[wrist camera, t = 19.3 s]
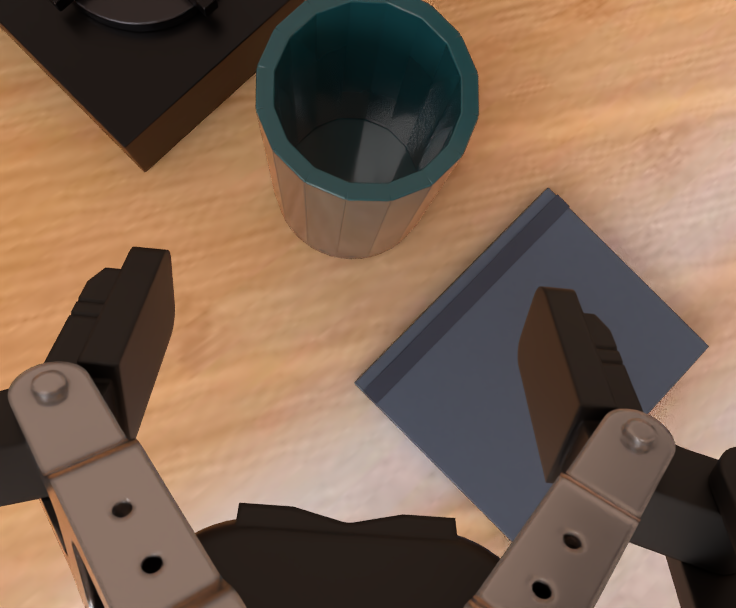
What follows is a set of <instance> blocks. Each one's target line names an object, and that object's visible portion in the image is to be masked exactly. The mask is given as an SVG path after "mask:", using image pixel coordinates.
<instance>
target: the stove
mask: <svg viewBox="0 0 736 608" xmlns="http://www.w3.org/2000/svg"><path fill="white" fill-rule="evenodd" d="M304 1H305V0H0V27H1V28H2V29H3V30H4V31H5V32H6V33H7V34H8V35H9V36H10V37H11V38H12V39H13V40H14V41H15V42H16V43H17V44H18V45H19V47H20V48H21V49H22V50H23V51H24V52H25V53H26V54H27V55H28V56H29V57H30V58H31V59H32V60H33V61H34V62H35V63H36V64H37V65H38V66H39V67H40V68H41V69H42V70H43V71H44V72H45V73H46V74H47V75H48V76H49V77H50V78H51V79H52V80H53V81H54V82H55V83H56V84H57V85H58V86H59V87H60V88H61V89H62V90H63V91H64V92H65V93H66V94H67V95H68V96H69V97H70V98H71V99H72V100H73V101H74V102H75V103H76V104H77V105H78V106H79V107H80V108H81V109H82V110H83V111H84V112H85V113H86V114H87V115H88V116H89V117H90V118H91V119H92V120H93V121H94V122H95V123H96V124H97V125H98V126H99V127H100V128H101V129H102V130H103V131H104V132H105V133H106V134H107V135H108V136H109V137H110V138H111V139H112V140H113V141H114V142H115V143H116V144H117V145H118V146H119V147H120V148H121V149H122V150H123V151H124V152H125V153H126V154H127V155H128V156H129V157H130V158H131V159H132V160H133V161H134V162H135V163H136V164H137V165H138V166H139V167H140V168H141V169H142V170H143V171H144V172H146V171H147V170H148V169H149V168H150V167H151V166H153V165H154V164H155V163H156V162H157V161H158V160H159V159H160V158H161V157H162V156H164V155H165V154H166V153H167V152H168V151H169V150H170V149H171V148H172V147H174V146H175V145H176V144H177V143H178V142H179V141H180V140H181V139H182V138H183V137H185V136H186V135H187V134H188V133H189V132H190V131H191V130H192V129H193V128H194V127H196V126H197V125H198V124H199V123H200V122H201V121H202V120H203V119H204V118H206V117H207V116H208V115H209V114H210V113H211V112H212V111H213V110H214V109H215V108H217V107H218V106H219V105H220V104H221V103H222V102H223V101H224V100H225V99H226V98H228V97H229V96H230V95H231V94H232V93H233V92H234V91H235V90H236V89H238V88H239V87H240V86H241V85H242V84H243V83H244V82H245V81H246V80H247V79H249V78H250V77H251V76H252V75H253V74H254V73H255V72H256V69H257V64H258V62H259V60H260V58H261V56H262V54H263V51H264V49H265V47H266V45H267V43H268V40H269V38H270V36H271V34H272V32H273V30H274V29H275V27H276V26H277V25H278V24H279V23H280V22H282V21H283V20H284V19H285V18H286V17H287V16H288V15H289V14H291V13H292V12H293V11H294V10H295V9H296V8H297V7H298V6H299V5H301V4H302V3H303V2H304Z"/></svg>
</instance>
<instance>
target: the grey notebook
mask: <svg viewBox="0 0 736 608" xmlns="http://www.w3.org/2000/svg"><path fill="white" fill-rule="evenodd" d="M569 207H570V206H569V205H568V204H567V203H566V202H565V201H564V200H563V199H562V198H561V197H560V196H559V195H555V194H554V193H553V192H552V191H551V190H550V189H549V188H547V189H546V190H545V191H543V192H542V193H541V195H540V196H539V197H538V198H537V199H536V200H535V201H534V202H533V203H532V204H531V205H530V206H529V207H528V208H527V209H526V210H525V211H524V212H523V213H522V214H521V215H520V216H519V217H518V218H517V219H516V220H515V221H514V222H513V223H512V224H511V225H510V226H509V227H508V228H507V229H506V230H505V231H504V232H503V233H502V234H501V235H500V236H499V237H498V238H497V239H496V240H495V241H494V242H493V243H492V244H491V245H490V246H489V247H488V248H487V249H486V250H485V251H484V252H483V253H482V254H481V255H480V256H479V257H478V258H477V259H476V260H475V261H474V262H473V263H472V264H471V265H470V266H469V267H468V268H467V269H466V270H465V271H464V272H463V273H462V274H461V275H460V276H459V277H458V278H457V279H456V280H455V281H454V282H453V283H452V284H451V285H450V286H449V287H448V288H447V289H446V290H445V291H444V292H443V293H442V294H441V295H440V296H439V297H438V298H437V299H436V300H435V301H434V302H433V303H432V304H431V305H430V307H429V308H428V309H427V310H426V311H425V312H424V313H423V314H422V315H421V316H420V317H419V318H418V319H417V320H416V321H415V322H414V323H413V324H412V325H411V326H410V327H409V328H408V329H407V330H406V331H405V332H404V333H403V334H402V335H401V336H400V337H399V338H398V339H397V340H396V341H395V342H394V343H393V344H392V345H391V346H390V347H389V348H388V349H387V350H386V351H385V352H384V353H383V354H382V355H381V356H380V357H379V358H378V359H377V360H376V361H375V362H374V363H373V364H372V365H371V366H370V367H369V368H368V369H367V370H366V371H365V372H364V373H363V374H362V375H361V376H360V377H359V378H358V379H357V380H356V381H355V385H356V386H357V387H358V388H359V389H360V390H361V391H362V392H363V393H364V394H365V395H366V396H367V397H368V398H369V399H370V400H371V401H372V402H373V403H374V404H375V405H376V406H377V407H378V408H379V409H380V410H381V411H382V412H383V413H384V414H385V415H386V416H387V417H388V418H389V419H390V420H391V421H392V422H393V423H394V424H395V425H396V426H397V427H398V428H399V429H400V430H401V431H402V432H403V433H404V434H405V435H406V436H407V437H408V438H409V439H410V440H411V441H412V442H413V443H414V444H415V445H416V446H417V447H418V448H419V449H420V450H421V451H422V452H423V453H424V454H425V455H426V456H427V457H428V458H429V459H430V460H431V461H432V462H433V463H434V464H435V465H436V466H437V467H438V468H439V469H440V470H441V471H442V472H443V473H444V474H445V475H446V476H447V477H448V478H449V479H450V480H451V481H452V482H453V483H454V484H455V485H456V486H457V487H458V488H459V489H460V490H461V491H462V492H463V493H464V494H465V495H466V496H467V497H468V498H469V499H470V500H471V501H472V502H473V503H474V504H475V505H476V506H477V507H478V508H479V509H480V510H481V511H482V512H483V513H484V514H485V515H486V516H487V517H488V518H489V519H490V520H491V521H492V522H493V523H494V525H495V526H496V527H497V528H498V529H499V530H500V531H501V532H502V533H503V534H504V535H505V536H506V537H507V538H508V539H509V540H510V541H511V542H513V540H514V539H515V537H516V536H517V534H518V533H519V532H520V530H521V529H522V527H523V526H524V524H525V523H526V522H527V520H528V519H529V517H530V516H531V514H532V513H533V512H534V510H535V509H536V507H537V506H538V504H539V503H540V502H541V500H542V499H543V497H544V496H545V494H546V493H547V492H548V490H549V489H550V487H551V486H552V484H553V483H546V481H545V477H544V473H543V468H542V464H541V460H540V456H539V451H538V447H537V443H536V439H535V434H534V430H533V426H532V421H531V417H530V413H529V409H528V404H527V400H526V396H525V392H524V387H523V383H522V379H521V374H520V370H519V366H518V345H519V340H520V336H521V333H522V330H523V327H524V324H525V321H526V318H527V315H528V312H529V309H530V306H531V303H532V300H533V297H534V294H535V292H536V290H537V288H538V287H540V286H544V287H554V288H565V289H573V290H574V291H575V292H576V294H577V297H578V299H579V302H580V305H581V308H582V310H583V313H590V314H595V315H596V316H597V317H598V318H599V319H600V320H601V321H602V322H603V323H604V324H605V325H606V326H607V327H608V328H609V329H610V331H611V333H612V336H613V338H614V340H615V343H616V345H617V351H619V353H620V355H621V358H622V360H623V365H625V368H626V370H627V373H628V375H629V377H630V380H631V382H632V385H633V387H634V390H635V392H636V395H637V397H638V400H639V402H640V405H641V407H642V410H643V412H644V413H646V414H648V413H649V412H650V411H651V410H652V409H653V408H654V407H655V405H656V404H657V403H658V402H659V401H660V400H661V399H662V398H663V397H664V396H665V394H666V393H667V392H668V391H669V390H670V389H671V388H672V387H673V386H674V385H675V383H676V382H677V381H678V380H679V379H680V378H681V377H682V376H683V375H684V374H685V372H686V371H687V370H688V369H689V368H690V367H691V366H692V365H693V364H694V363H695V361H696V360H697V359H698V358H699V357H700V356H701V355H702V354H703V353H704V352H705V350H706V349H707V348H708V347H709V346H708V345H707V344H706V343H705V342H704V341H703V340H702V339H701V338H700V337H699V336H698V335H697V334H696V333H695V332H694V331H693V330H692V329H691V328H690V327H689V326H688V325H687V324H686V323H685V322H684V321H683V320H682V319H681V318H680V317H679V316H678V315H677V314H676V313H675V312H674V311H673V310H672V309H671V308H670V307H669V306H668V305H667V304H666V303H665V302H664V301H663V300H662V299H661V298H660V297H659V296H658V295H657V294H655V293H654V292H653V291H652V290H651V289H650V288H649V287H648V286H647V285H646V284H645V283H644V282H643V281H642V280H641V279H640V278H639V277H638V276H637V275H636V274H635V273H634V272H633V271H632V270H631V269H630V268H629V267H628V266H627V265H626V264H625V263H624V262H623V261H622V260H621V259H620V258H619V257H618V256H617V255H616V254H615V253H614V252H613V251H612V250H611V249H610V248H609V247H608V246H607V245H606V244H605V243H604V242H603V241H602V240H601V239H600V238H599V237H598V236H597V235H596V234H595V233H594V232H593V231H592V230H591V229H590V228H589V227H588V226H587V225H586V224H585V223H584V222H583V221H582V220H581V219H580V218H579V217H578V216H577V215H576V214H575V213H574V212H573V211H572V210H571V209H570V208H569Z"/></svg>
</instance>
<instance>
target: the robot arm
mask: <svg viewBox="0 0 736 608" xmlns="http://www.w3.org/2000/svg"><path fill="white" fill-rule="evenodd" d="M174 317H175V302H174V289H173V277H172V264H171V255H170V252H169V250H163V249H153V248H142V247H132V248H131V249H130V251H129V253H128V255H127V257H126V260H125V262H124V264H123V266H122V268H121V269H115V268H104V269H103V270H102V271H100V272H99V273H98V274H96V275H95V276H94V277H92V278H91V279H90V280H89V281H87V283H86V285H85V287H84V289H83V291H82V292H81V294H80V296H79V298H78V302H76V304H75V306H74V307H73V309H72V311H71V315H69V317H68V319H67V321H66V322H65V324H64V326H63V328H62V330H61V332H60V334H59V336H58V337H57V339H56V341H55V343H54V345H53V347H52V349H51V351H50V352H49V354H48V356H47V358H46V360H45V362H44V363H43V364H39V365H36V366H34V367H31V368H29V369H28V370H26V371H24V372H23V373H21V374H20V375H19V376H18V377H17V378H16V379H15V380H14V381H13V382H12V384H11V386H10V388H9V389H6V390H2V391H0V506H5V505H10V504H15V503H20V502H25V501H30V500H35V499H39V500H40V503H41V505H42V507H43V509H44V512H45V514H46V516H47V518H48V521H49V523H50V525H51V527H52V529H53V532H54V534H55V536H56V538H57V541H58V543H59V545H60V547H61V549H62V552H63V554H64V556H65V558H66V561H67V563H68V565H69V567H70V570H71V572H72V575H73V577H74V580H75V583H76V585H77V588H78V591H79V594H80V596H81V599H82V601H83V604H84V606H85V608H594V606H595V605H596V603H597V601H598V599H599V597H600V595H601V593H602V591H603V590H604V588H605V586H606V584H607V582H608V580H609V578H610V576H611V575H612V573H613V571H614V569H615V567H616V565H617V563H618V561H619V560H620V558H621V556H622V554H623V552H624V550H625V548H626V547H627V545H628V543H629V542H630V543H633V544H635V545H638V546H641V547H643V548H646V549H649V550H652V551H654V552H657V553H660V554H663V555H665V556H666V559H667V562H668V566H669V569H670V572H671V576H672V579H673V582H674V586H675V589H676V592H677V596H678V599H679V603H680V606H681V608H736V447H733V448H729V449H728V450H726V451H725V452H724V453H723V454H722V456H721V457H720V459H719V460H717V459H714V458H711V457H708V456H705V455H702V454H699V453H696V452H693V451H690V450H687V449H685V448H682V447H679V446H677V445H675V442H674V439H673V437H672V435H671V433H670V432H669V431H668V429H667V428H666V427H665V426H664V425H663V424H662V423H661V422H659V421H658V420H657V419H655V418H654V417H652V416H650V415H648V414H646V413H644V412H643V410H642V407H641V405H640V402H639V400H638V397H637V395H636V392H635V390H634V387H633V385H632V382H631V380H630V377H629V375H628V373H627V370H626V368H625V365H623V360H622V358H621V355H620V353H619V351H617V345H616V343H615V340H614V338H613V336H612V333H611V331H610V329H609V328H608V327H607V326H606V325H605V324H604V323H603V322H602V321H601V320H600V319H599V318H598V317H597V316H596V315H595V314H590V313H583V310H582V308H581V305H580V302H579V299H578V297H577V294H576V292H575V291H574V290H573V289H565V288H554V287H544V286H540V287H538V288H537V290H536V292H535V294H534V297H533V300H532V303H531V306H530V309H529V312H528V315H527V318H526V321H525V324H524V327H523V330H522V333H521V336H520V340H519V345H518V366H519V370H520V374H521V379H522V383H523V387H524V392H525V396H526V400H527V404H528V409H529V413H530V417H531V421H532V426H533V430H534V434H535V439H536V443H537V447H538V451H539V456H540V460H541V464H542V468H543V473H544V477H545V481H546V483H553V484H552V486H551V487H550V489H549V490H548V492H547V493H546V494H545V496H544V497H543V499H542V500H541V502H540V503H539V504H538V506H537V507H536V509H535V510H534V512H533V513H532V514H531V516H530V517H529V519H528V520H527V522H526V523H525V524H524V526H523V527H522V529H521V530H520V532H519V533H518V534H517V536H516V537H515V539H514V540H513V542H512V543H511V545H510V546H509V547H508V549H507V550H506V552H505V553H504V555H503V556H502V557H501V559H500V558H499V557H498V556H496V555H495V554H493V553H492V552H491V551H489V550H488V549H486V548H484V547H483V546H481V545H479V544H477V543H475V542H473V541H471V540H469V539H466V538H464V537H461V536H458V535H457V531H456V521H455V518H445V517H431V516H417V515H397V516H391V517H385V518H378V519H372V520H366V521H360V522H354V523H346V522H341V521H338V520H335V519H332V518H328V517H325V516H322V515H319V514H315V513H312V512H309V511H306V510H302V509H299V508H296V507H291V506H277V505H263V504H249V503H239V507H238V513H237V519H236V520H230V521H225V522H221V523H218V524H214V525H212V526H209V527H207V528H204V529H202V530H200V531H198V532H196V533H194V531H193V529H192V528H191V526H190V525H189V523H188V521H187V520H186V518H185V516H184V515H183V513H182V511H181V510H180V508H179V506H178V505H177V503H176V501H175V500H174V498H173V497H172V495H171V493H170V492H169V490H168V488H167V487H166V485H165V483H164V482H163V480H162V478H161V477H160V475H159V473H158V472H157V470H156V468H155V467H154V465H153V464H152V462H151V460H150V459H149V457H148V455H147V454H146V452H145V450H144V449H143V447H142V446H141V444H140V443H139V441H138V440H137V439H136V436H137V433H138V431H139V428H140V425H141V422H142V419H143V416H144V413H145V410H146V407H147V404H148V401H149V398H150V395H151V393H152V390H153V387H154V384H155V381H156V378H157V375H158V372H159V369H160V366H161V363H162V360H163V358H164V355H165V352H166V349H167V346H168V343H169V340H170V337H171V334H172V330H173V325H174Z"/></svg>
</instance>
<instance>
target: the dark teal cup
mask: <svg viewBox="0 0 736 608" xmlns="http://www.w3.org/2000/svg"><path fill="white" fill-rule="evenodd" d="M256 113H257V117H258V122H259V126H260V131H261V135H262V140H263V144H264V148H265V153H266V157H267V162H268V166H269V171H270V175H271V180H272V184H273V188H274V193H275V196H276V199H277V201H278V204H279V207H280V210H281V213H282V215H283V217H284V219H285V221H286V222H287V224H288V225H289V227H290V228H291V230H292V231H293V232H294V233H295V234H296V235H297V236H298V237H299V238H300V239H301V240H302V241H303V242H304V243H306V244H307V245H309V246H310V247H312V248H313V249H315V250H317V251H319V252H321V253H324V254H326V255H329V256H333V257H337V258H344V259H362V258H367V257H372V256H375V255H378V254H381V253H383V252H385V251H387V250H389V249H391V248H392V247H394V246H395V245H397V244H398V243H399V242H401V241H402V240H403V239H404V238H405V237H406V236H407V235H408V234H409V233H410V231H411V230H412V229H413V228H414V227H415V226H416V225H417V224H418V222H419V221H420V219H421V218H422V216H423V215H424V213H425V212H426V210H427V209H428V207H429V206H430V204H431V202H432V201H433V199H434V198H435V196H436V195H437V193H438V192H439V190H440V189H441V187H442V186H443V184H444V183H445V181H446V180H447V178H448V177H449V175H450V174H451V172H452V171H453V169H454V168H455V166H456V165H457V163H458V162H459V160H460V159H461V157H462V156H463V154H464V152H465V149H466V147H467V145H468V142H469V140H470V137H471V135H472V132H473V130H474V128H475V125H476V123H477V120H478V116H479V80H478V74H477V70H476V68H475V65H474V63H473V61H472V59H471V56H470V54H469V52H468V49H467V47H466V45H465V43H464V40H463V38H462V36H460V33H459V32H458V31H457V30H456V29H455V28H454V27H453V26H452V25H451V24H450V23H449V22H448V21H447V20H446V19H445V18H444V17H443V16H442V15H441V14H440V13H439V12H438V11H437V10H436V9H435V8H434V7H433V6H432V5H430V4H429V3H426V2H424V1H422V0H305V1H304V2H303V3H302V4H301V5H299V6H298V7H297V8H296V9H295V10H294V11H293V12H292V13H291V14H289V15H288V16H287V17H286V18H285V19H284V20H283V21H282V22H280V23H279V24H278V25H277V26H276V27H275V29H274V30H273V32H272V34H271V36H270V38H269V40H268V43H267V45H266V47H265V49H264V51H263V54H262V56H261V58H260V60H259V62H258V64H257V69H256Z"/></svg>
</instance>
